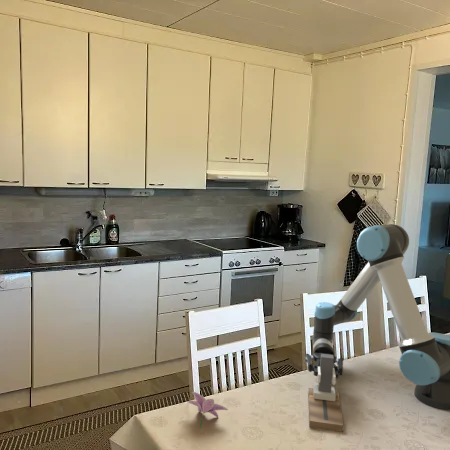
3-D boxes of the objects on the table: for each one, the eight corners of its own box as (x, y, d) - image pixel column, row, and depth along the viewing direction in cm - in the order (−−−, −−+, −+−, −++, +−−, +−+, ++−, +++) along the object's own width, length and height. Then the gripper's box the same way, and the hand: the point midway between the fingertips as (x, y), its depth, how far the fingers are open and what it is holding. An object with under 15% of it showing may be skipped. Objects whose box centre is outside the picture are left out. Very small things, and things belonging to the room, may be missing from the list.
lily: (230, 431, 139) (234, 397, 142) (202, 428, 131) (206, 392, 135) (203, 427, 147) (207, 395, 150) (174, 424, 139) (179, 390, 143)
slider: (313, 390, 160) (316, 351, 158) (333, 392, 159) (337, 353, 157) (313, 398, 154) (316, 358, 153) (335, 401, 153) (338, 360, 151)
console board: (308, 393, 163) (308, 387, 162) (337, 396, 161) (337, 391, 161) (309, 426, 141) (309, 420, 141) (342, 431, 140) (343, 425, 139)
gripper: (346, 364, 172) (352, 393, 149) (299, 359, 175) (299, 387, 152) (347, 345, 172) (354, 371, 149) (301, 340, 174) (300, 365, 151)
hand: (326, 379), depth 150 cm, fingers closed on slider, 4 cm apart
